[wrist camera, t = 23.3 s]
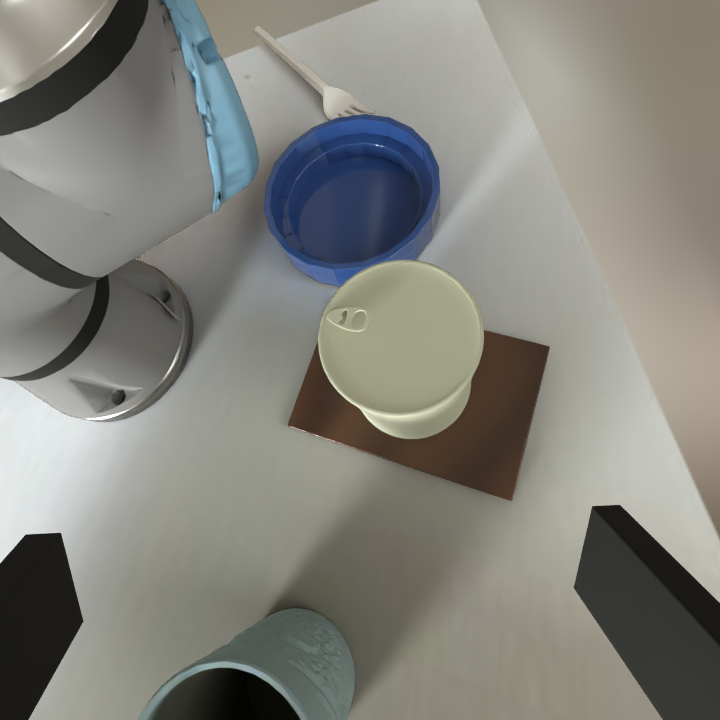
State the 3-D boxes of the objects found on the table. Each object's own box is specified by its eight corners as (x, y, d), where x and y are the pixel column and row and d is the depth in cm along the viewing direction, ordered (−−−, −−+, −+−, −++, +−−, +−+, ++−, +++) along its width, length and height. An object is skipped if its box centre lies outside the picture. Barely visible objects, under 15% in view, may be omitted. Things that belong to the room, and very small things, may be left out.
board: (290, 427, 37) (287, 425, 36) (336, 297, 39) (334, 293, 38) (510, 500, 32) (512, 501, 31) (547, 349, 35) (550, 346, 34)
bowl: (255, 267, 41) (239, 248, 38) (310, 134, 44) (299, 105, 41) (411, 305, 38) (408, 287, 34) (459, 156, 41) (460, 126, 37)
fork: (269, 25, 49) (263, 7, 48) (381, 124, 43) (379, 108, 41) (246, 42, 49) (239, 26, 48) (356, 144, 43) (352, 129, 41)
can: (375, 314, 37) (346, 238, 26) (484, 342, 35) (506, 274, 23) (338, 418, 35) (290, 387, 24) (452, 455, 33) (458, 440, 22)
